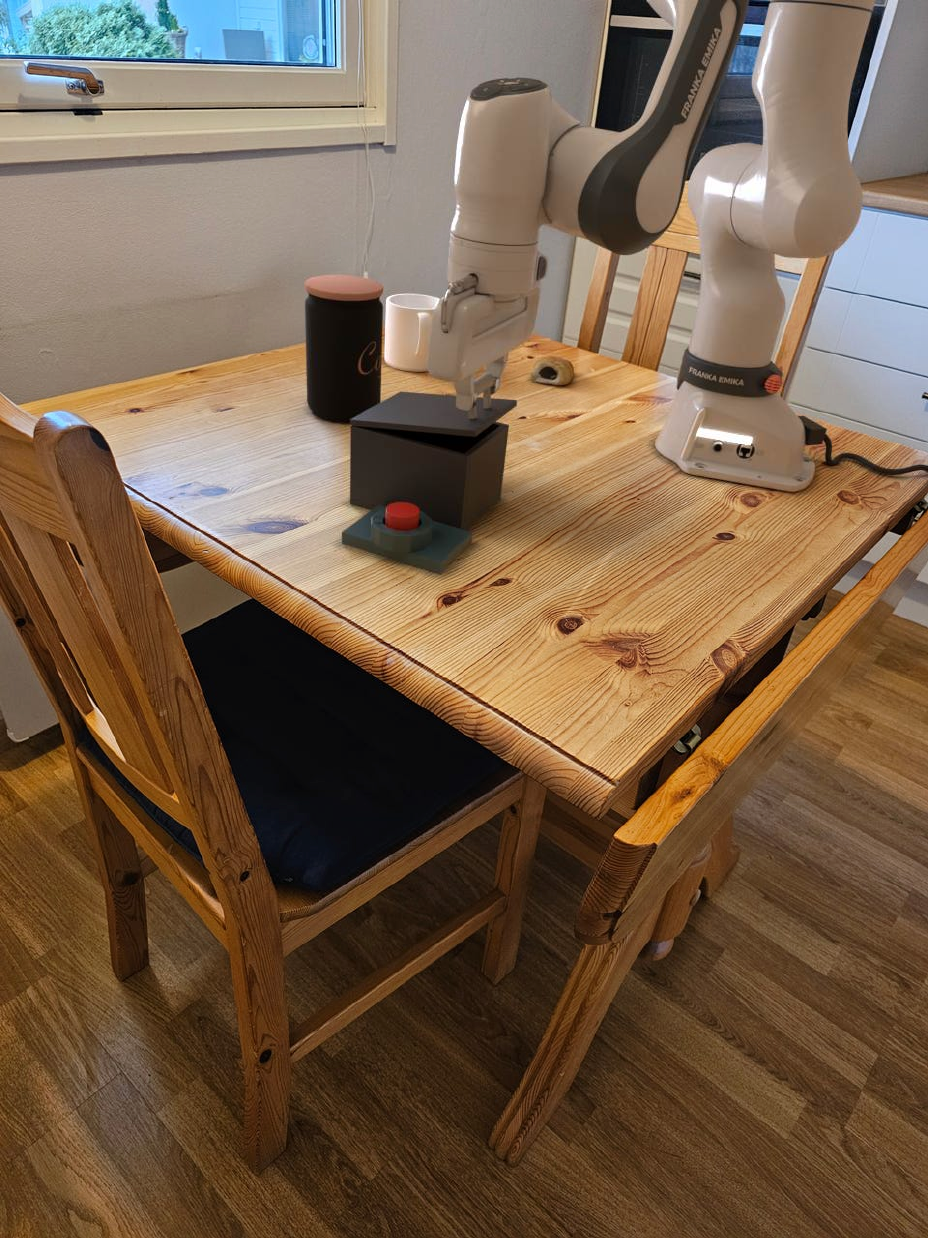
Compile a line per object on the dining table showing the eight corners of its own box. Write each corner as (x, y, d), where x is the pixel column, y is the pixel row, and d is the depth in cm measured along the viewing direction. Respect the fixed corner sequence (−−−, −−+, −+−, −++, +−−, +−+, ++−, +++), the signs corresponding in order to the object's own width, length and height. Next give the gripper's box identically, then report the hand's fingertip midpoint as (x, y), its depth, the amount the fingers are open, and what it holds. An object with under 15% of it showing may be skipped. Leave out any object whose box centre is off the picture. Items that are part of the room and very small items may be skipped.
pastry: (544, 366, 151) (547, 345, 149) (580, 374, 150) (584, 353, 147) (527, 381, 144) (530, 358, 142) (565, 389, 142) (569, 367, 140)
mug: (379, 353, 150) (380, 293, 144) (434, 353, 153) (437, 294, 147) (394, 377, 140) (396, 313, 134) (452, 376, 143) (457, 314, 137)
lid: (517, 405, 98) (515, 366, 96) (475, 437, 89) (472, 394, 87) (400, 396, 104) (397, 359, 102) (350, 425, 95) (345, 385, 93)
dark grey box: (500, 500, 105) (509, 424, 100) (460, 537, 96) (467, 457, 91) (397, 470, 110) (400, 397, 104) (349, 504, 101) (350, 425, 95)
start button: (424, 522, 92) (425, 507, 91) (408, 535, 89) (409, 520, 88) (395, 513, 93) (396, 498, 92) (378, 526, 90) (379, 511, 89)
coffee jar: (368, 429, 121) (370, 297, 111) (296, 418, 122) (292, 287, 112) (388, 404, 129) (392, 280, 119) (321, 394, 131) (319, 270, 121)
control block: (471, 544, 95) (474, 516, 93) (436, 578, 89) (438, 549, 87) (378, 515, 99) (379, 488, 97) (337, 546, 92) (337, 518, 90)
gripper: (476, 291, 77) (463, 435, 85) (554, 257, 93) (537, 382, 100) (415, 278, 79) (407, 421, 86) (501, 247, 95) (489, 370, 102)
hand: (478, 399), depth 94 cm, fingers closed on lid, 5 cm apart
